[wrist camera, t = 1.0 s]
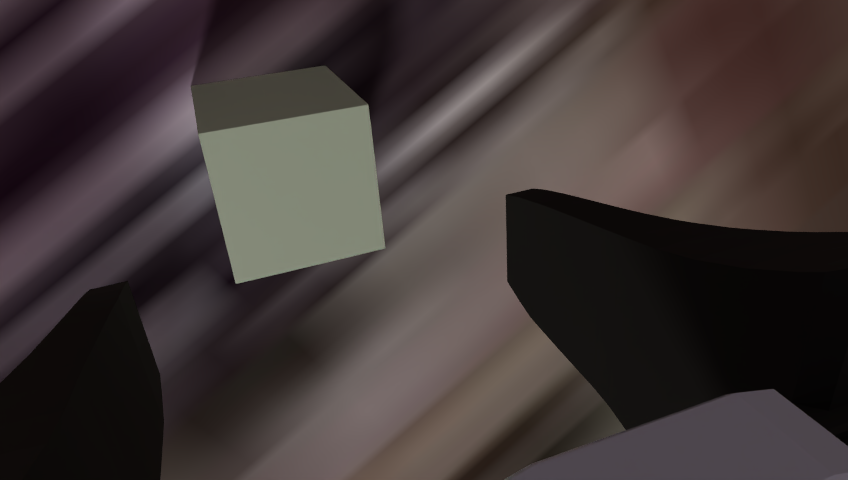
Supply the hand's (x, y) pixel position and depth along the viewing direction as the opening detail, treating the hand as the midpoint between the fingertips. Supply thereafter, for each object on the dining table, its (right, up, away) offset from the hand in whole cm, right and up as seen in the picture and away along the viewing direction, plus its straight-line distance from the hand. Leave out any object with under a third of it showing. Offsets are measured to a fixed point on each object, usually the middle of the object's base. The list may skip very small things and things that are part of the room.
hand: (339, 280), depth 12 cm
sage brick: (-3, +4, +8) cm, 10 cm away
